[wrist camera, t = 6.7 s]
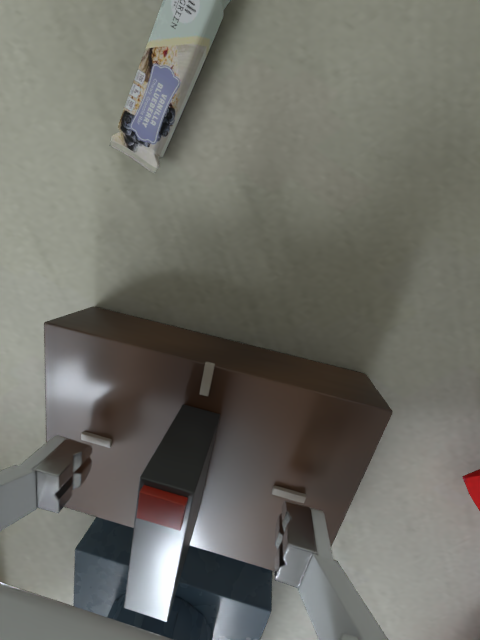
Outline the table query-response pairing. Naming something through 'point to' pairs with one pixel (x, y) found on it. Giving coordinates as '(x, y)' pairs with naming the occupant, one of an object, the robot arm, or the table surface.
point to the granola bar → (166, 77)
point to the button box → (191, 596)
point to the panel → (232, 432)
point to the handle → (168, 511)
